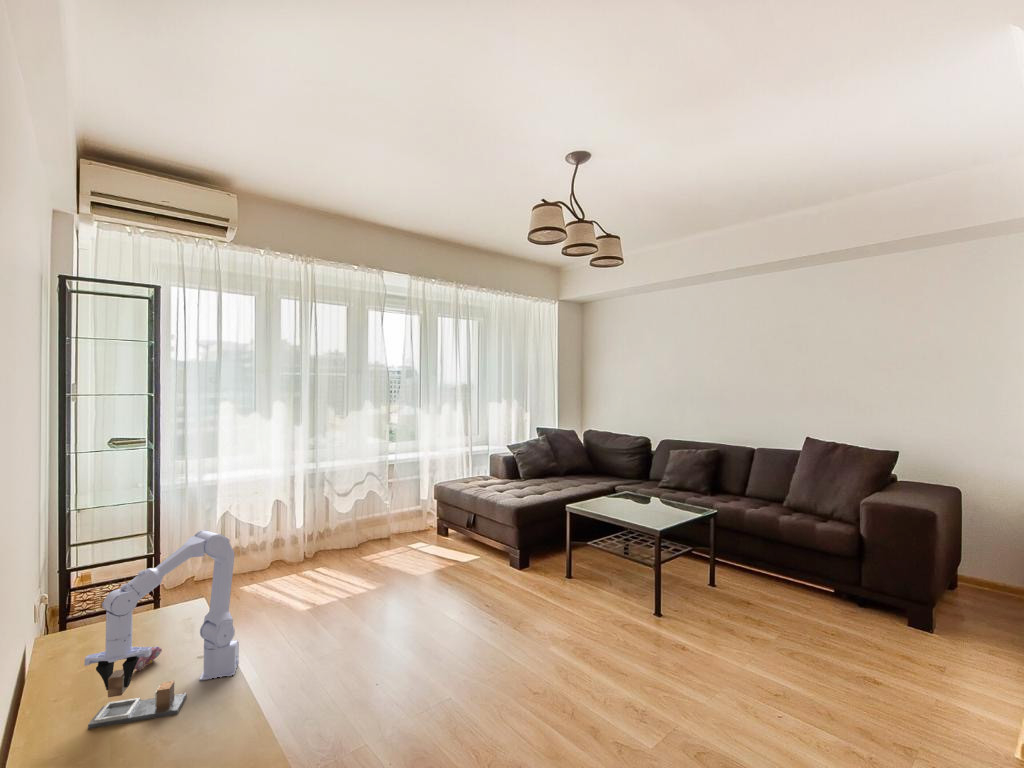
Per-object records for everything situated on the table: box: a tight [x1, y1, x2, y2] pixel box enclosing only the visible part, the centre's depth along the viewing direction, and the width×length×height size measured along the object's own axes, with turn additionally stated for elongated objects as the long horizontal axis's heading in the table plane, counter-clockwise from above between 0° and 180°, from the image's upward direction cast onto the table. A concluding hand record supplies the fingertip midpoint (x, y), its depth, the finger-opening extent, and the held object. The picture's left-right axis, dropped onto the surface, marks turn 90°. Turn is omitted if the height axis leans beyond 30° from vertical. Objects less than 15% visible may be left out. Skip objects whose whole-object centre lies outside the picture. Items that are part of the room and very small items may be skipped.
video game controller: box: [134, 645, 163, 672], centre depth 160 cm, size 10×5×7 cm, turn 169°
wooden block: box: [107, 669, 129, 698], centre depth 136 cm, size 3×4×5 cm
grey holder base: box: [87, 680, 188, 730], centre depth 137 cm, size 20×8×6 cm, turn 108°
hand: (118, 686), depth 136 cm, fingers closed on wooden block, 3 cm apart
